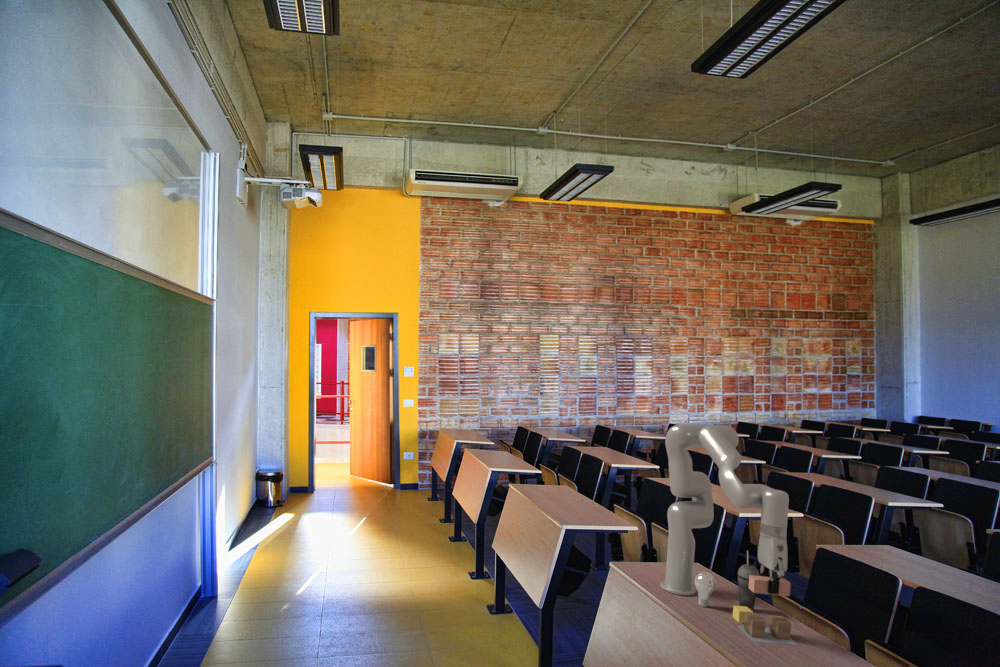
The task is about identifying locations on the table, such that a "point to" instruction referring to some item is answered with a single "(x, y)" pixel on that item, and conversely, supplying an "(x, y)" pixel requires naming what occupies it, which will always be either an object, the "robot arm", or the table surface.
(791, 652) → the table surface
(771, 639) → the board
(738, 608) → the cube
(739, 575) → the beverage cup
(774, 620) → the pier
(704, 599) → the light bulb
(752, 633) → the block
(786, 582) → the beam
